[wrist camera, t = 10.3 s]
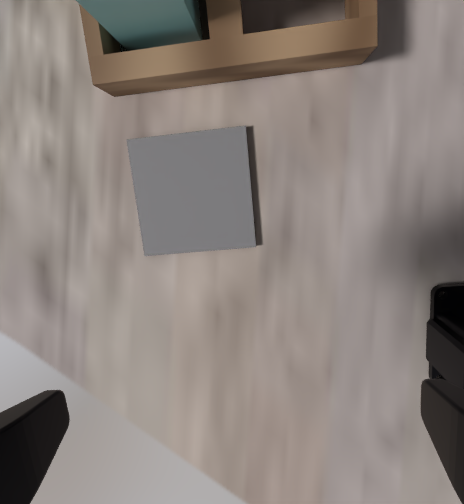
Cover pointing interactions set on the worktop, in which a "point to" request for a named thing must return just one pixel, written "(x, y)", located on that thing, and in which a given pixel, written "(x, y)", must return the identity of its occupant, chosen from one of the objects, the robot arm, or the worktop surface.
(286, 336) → the worktop surface
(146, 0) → the plug
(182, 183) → the mat
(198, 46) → the socket box
